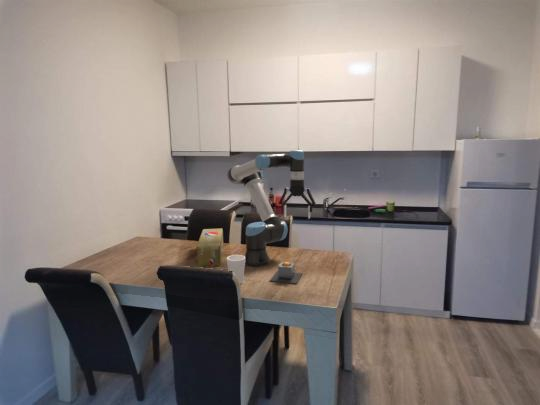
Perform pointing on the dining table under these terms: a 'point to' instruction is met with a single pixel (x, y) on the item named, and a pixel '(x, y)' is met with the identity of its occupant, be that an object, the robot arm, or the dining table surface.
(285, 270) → the socket
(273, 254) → the dining table surface
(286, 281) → the mat
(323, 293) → the dining table surface
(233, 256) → the foam cup
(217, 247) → the soda box
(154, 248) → the dining table surface
